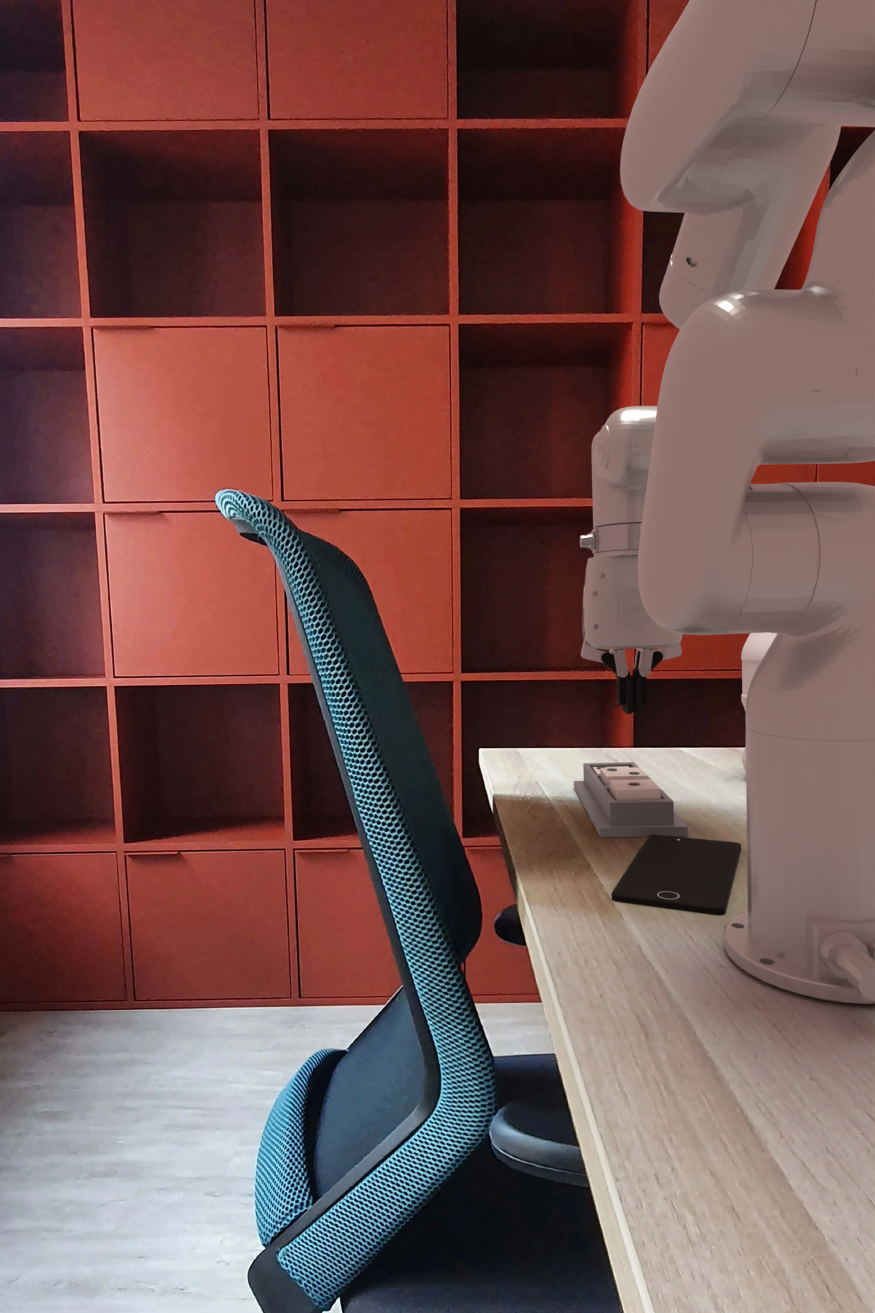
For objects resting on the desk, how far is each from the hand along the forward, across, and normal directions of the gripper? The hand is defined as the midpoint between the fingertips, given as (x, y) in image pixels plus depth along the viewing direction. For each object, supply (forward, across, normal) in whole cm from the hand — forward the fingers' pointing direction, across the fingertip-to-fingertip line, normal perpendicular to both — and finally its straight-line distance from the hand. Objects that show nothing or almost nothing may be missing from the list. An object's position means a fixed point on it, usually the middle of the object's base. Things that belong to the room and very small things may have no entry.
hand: (632, 711), depth 83 cm
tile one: (+10, 0, 0) cm, 10 cm away
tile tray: (+12, 0, +6) cm, 14 cm away
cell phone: (+13, +1, -15) cm, 20 cm away
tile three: (+11, 0, +13) cm, 17 cm away
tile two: (+10, 0, +6) cm, 12 cm away
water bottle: (+13, +22, +19) cm, 32 cm away
